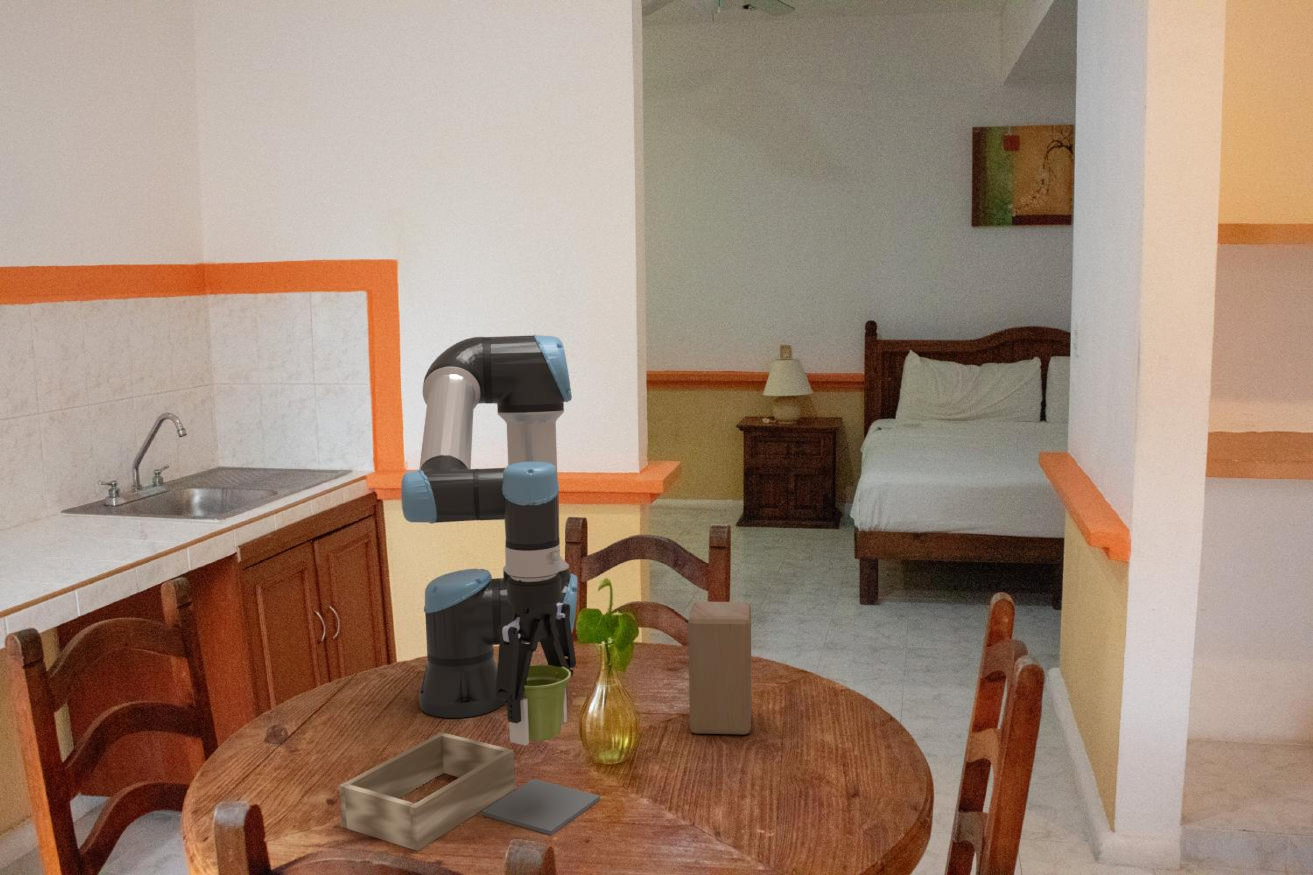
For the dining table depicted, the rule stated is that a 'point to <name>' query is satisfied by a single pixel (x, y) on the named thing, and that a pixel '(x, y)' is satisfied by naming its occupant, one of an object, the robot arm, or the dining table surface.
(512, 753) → the crate
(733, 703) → the wooden block
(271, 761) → the dining table surface
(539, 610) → the robot arm
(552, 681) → the plant pot
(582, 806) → the pad
